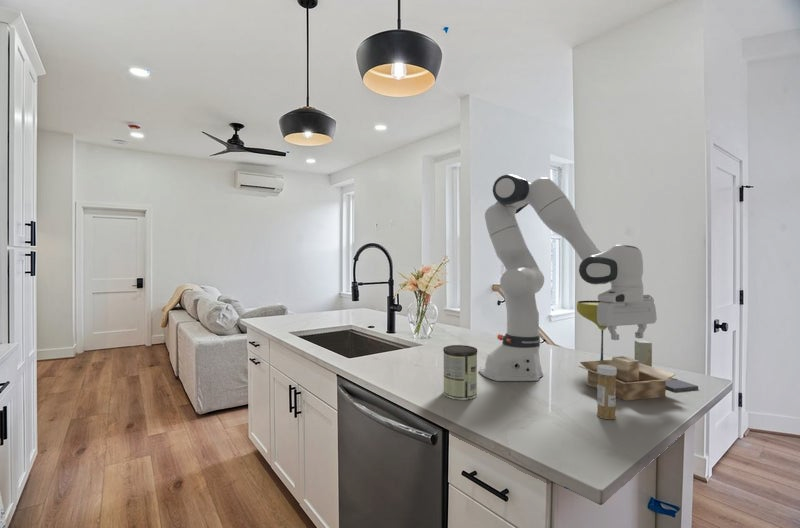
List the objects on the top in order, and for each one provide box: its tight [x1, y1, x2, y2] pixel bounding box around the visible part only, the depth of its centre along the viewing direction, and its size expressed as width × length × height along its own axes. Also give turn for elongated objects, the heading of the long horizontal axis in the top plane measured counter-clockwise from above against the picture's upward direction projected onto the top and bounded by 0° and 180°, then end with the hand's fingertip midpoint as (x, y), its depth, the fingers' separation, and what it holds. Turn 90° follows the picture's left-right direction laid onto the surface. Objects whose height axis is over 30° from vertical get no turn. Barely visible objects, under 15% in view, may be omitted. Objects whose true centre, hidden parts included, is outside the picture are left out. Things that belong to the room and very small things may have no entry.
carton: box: [578, 359, 678, 401], centre depth 126 cm, size 23×23×6 cm
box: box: [634, 339, 653, 367], centre depth 147 cm, size 5×4×11 cm
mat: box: [666, 377, 699, 392], centre depth 131 cm, size 10×10×1 cm
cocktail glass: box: [576, 300, 608, 361], centre depth 150 cm, size 18×18×25 cm
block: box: [611, 355, 639, 383], centre depth 126 cm, size 4×6×10 cm
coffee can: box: [442, 344, 478, 401], centre depth 121 cm, size 10×10×14 cm
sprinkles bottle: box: [596, 365, 617, 420], centre depth 105 cm, size 5×5×13 cm
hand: (627, 338), depth 125 cm, fingers open, 8 cm apart
